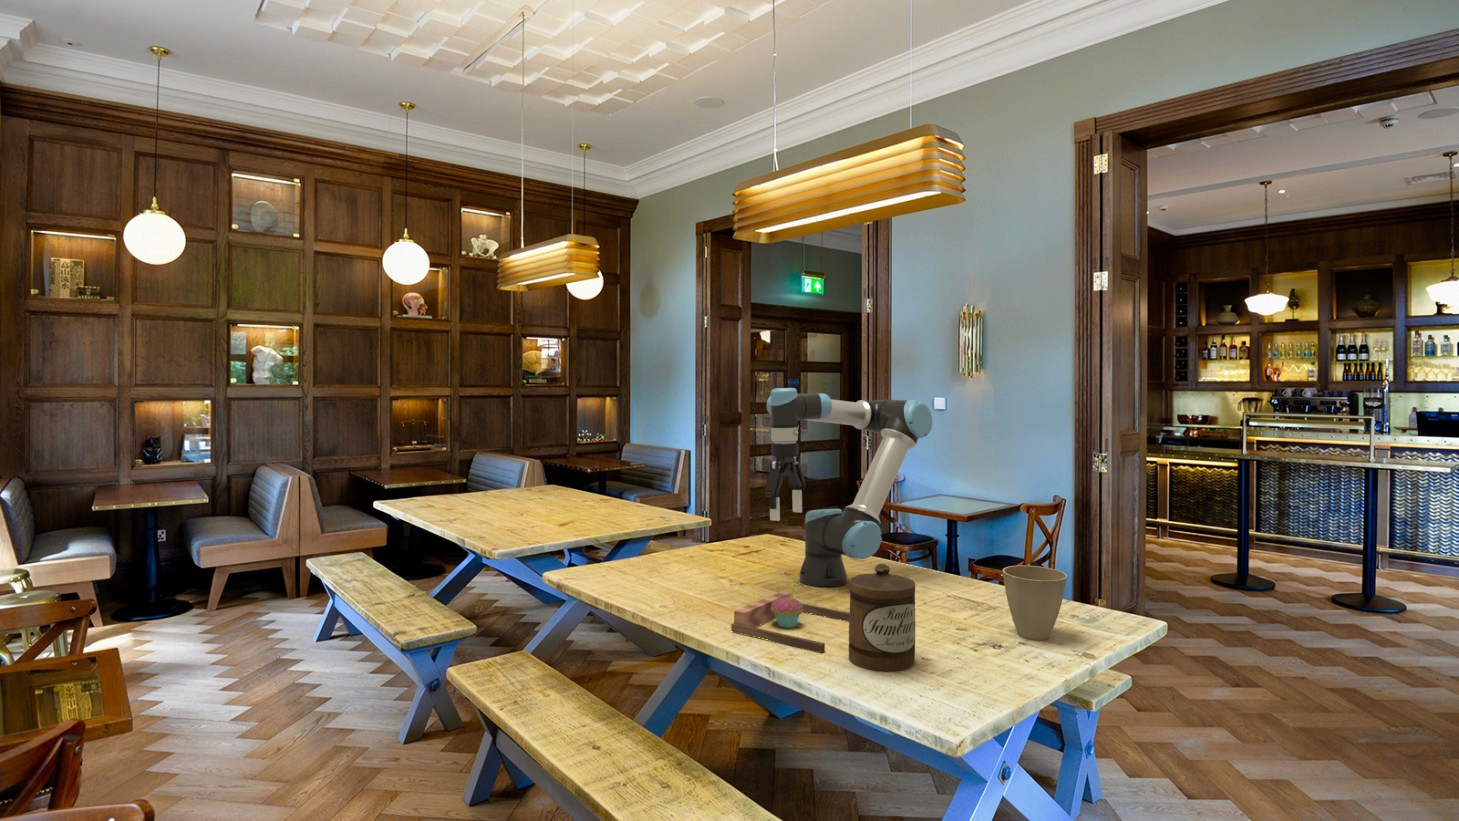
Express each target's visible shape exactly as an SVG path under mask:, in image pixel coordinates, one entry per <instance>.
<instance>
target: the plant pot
mask: <svg viewBox="0 0 1459 821" xmlns="http://www.w3.org/2000/svg"><path fill="white" fill-rule="evenodd" d="M1002 575H1003V576H1002V577H1003V584H1004V588H1005V589H1004V591H1005V595H1006V599H1007V604H1008V609H1009V612H1010V615H1011V617H1012V621H1013V624H1014V628H1015V630H1016V632H1017V635H1019V636H1020V637H1022V638H1024V639H1027V640H1034V641H1042V640H1043V641H1044V640H1048V639H1049V638H1050V636H1051V634H1052V632H1053V629H1054V627H1055V625H1056V622H1057V619H1058V616H1059V614H1060V610H1061V607H1062V603H1063V599H1064V595H1065V591H1066V590H1065V589H1066V586H1067V578H1068V575H1067V574H1066V573H1065V572H1064V571H1061V570H1058V569H1054V568H1050V567H1045V566H1037V565H1011V566H1007V567H1004V568H1003V569H1002Z"/></svg>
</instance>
